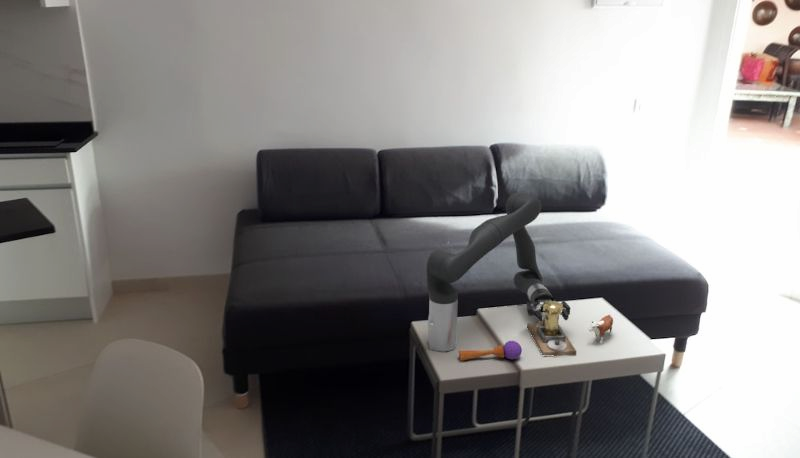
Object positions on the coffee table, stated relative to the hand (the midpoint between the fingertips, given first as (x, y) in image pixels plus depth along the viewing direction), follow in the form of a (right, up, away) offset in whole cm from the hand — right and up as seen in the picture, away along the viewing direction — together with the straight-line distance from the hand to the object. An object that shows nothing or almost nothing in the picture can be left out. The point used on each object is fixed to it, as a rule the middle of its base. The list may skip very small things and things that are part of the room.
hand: (554, 318), depth 209 cm
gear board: (0, -8, +5) cm, 10 cm away
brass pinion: (0, -7, +4) cm, 8 cm away
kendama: (-22, -13, -6) cm, 26 cm away
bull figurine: (+17, -8, +6) cm, 20 cm away
